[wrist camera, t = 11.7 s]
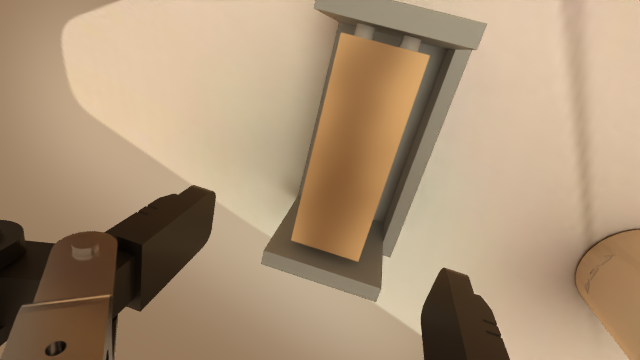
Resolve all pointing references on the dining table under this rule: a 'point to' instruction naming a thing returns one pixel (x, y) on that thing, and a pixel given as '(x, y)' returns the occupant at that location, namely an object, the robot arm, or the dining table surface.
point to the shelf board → (356, 142)
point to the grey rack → (414, 148)
